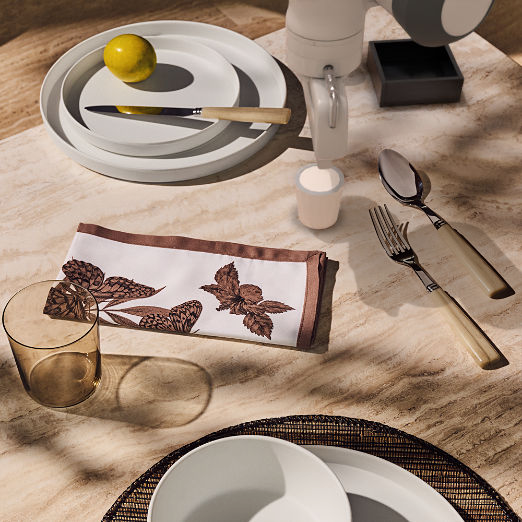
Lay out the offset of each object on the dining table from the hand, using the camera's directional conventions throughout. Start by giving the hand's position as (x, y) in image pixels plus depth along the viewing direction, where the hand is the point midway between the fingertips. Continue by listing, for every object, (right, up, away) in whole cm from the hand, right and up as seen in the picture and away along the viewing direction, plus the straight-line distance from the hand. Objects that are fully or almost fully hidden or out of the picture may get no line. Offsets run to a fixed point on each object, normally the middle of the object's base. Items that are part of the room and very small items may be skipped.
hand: (319, 142), depth 88 cm
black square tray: (+19, +16, +31) cm, 40 cm away
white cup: (+1, -9, +10) cm, 13 cm away
